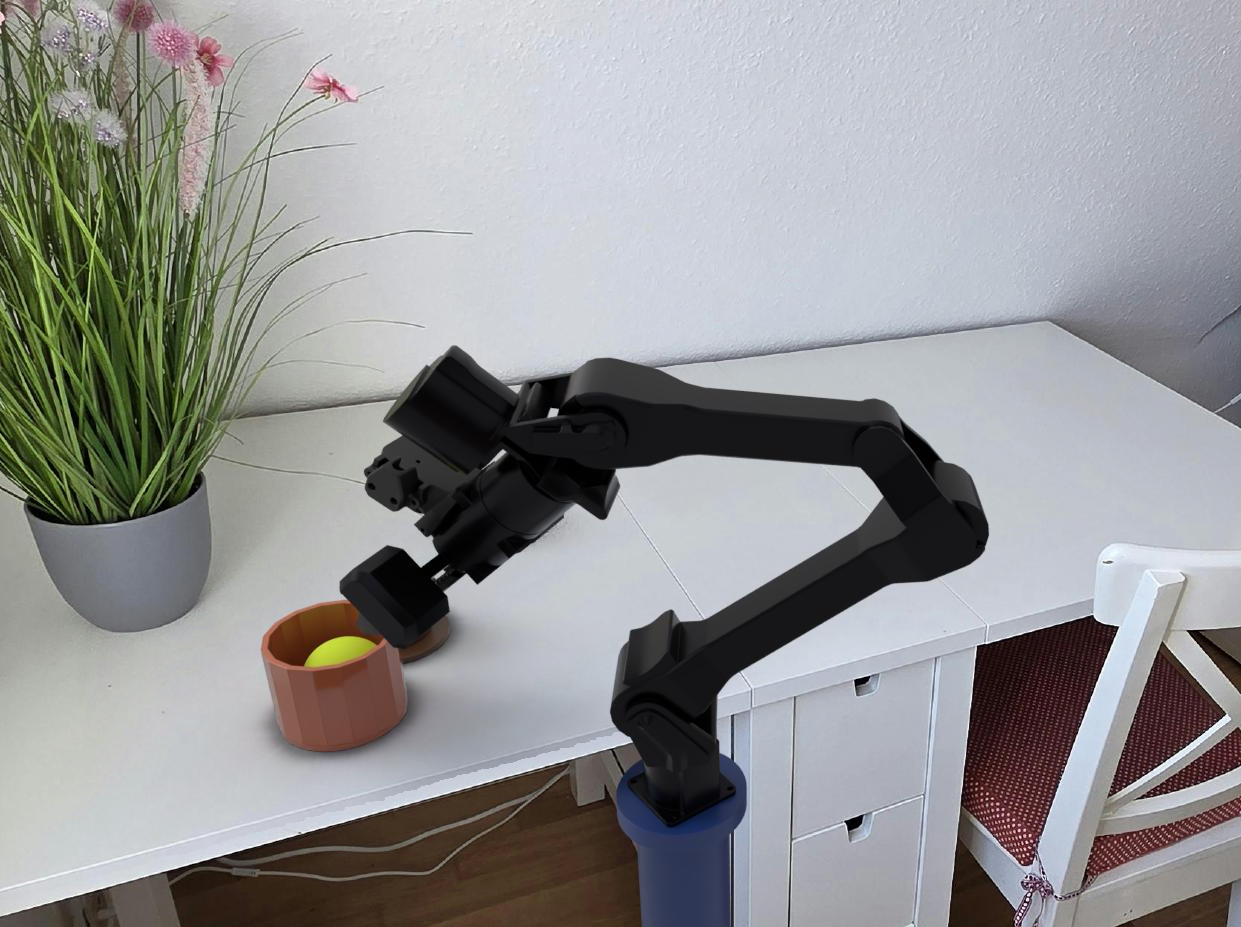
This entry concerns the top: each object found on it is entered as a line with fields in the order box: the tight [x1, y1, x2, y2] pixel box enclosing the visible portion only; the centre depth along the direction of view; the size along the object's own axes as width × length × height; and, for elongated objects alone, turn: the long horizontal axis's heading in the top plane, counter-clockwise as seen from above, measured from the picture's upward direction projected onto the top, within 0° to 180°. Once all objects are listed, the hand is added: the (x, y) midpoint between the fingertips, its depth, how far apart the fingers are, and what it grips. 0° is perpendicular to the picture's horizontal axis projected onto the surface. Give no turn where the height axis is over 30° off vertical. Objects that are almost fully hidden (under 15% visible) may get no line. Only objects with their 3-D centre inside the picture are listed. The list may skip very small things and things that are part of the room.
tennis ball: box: [304, 636, 377, 667], centre depth 99 cm, size 7×7×7 cm
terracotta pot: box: [260, 599, 409, 752], centre depth 99 cm, size 10×10×8 cm
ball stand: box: [338, 576, 451, 664], centre depth 109 cm, size 9×9×6 cm
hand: (403, 596), depth 93 cm, fingers open, 9 cm apart
